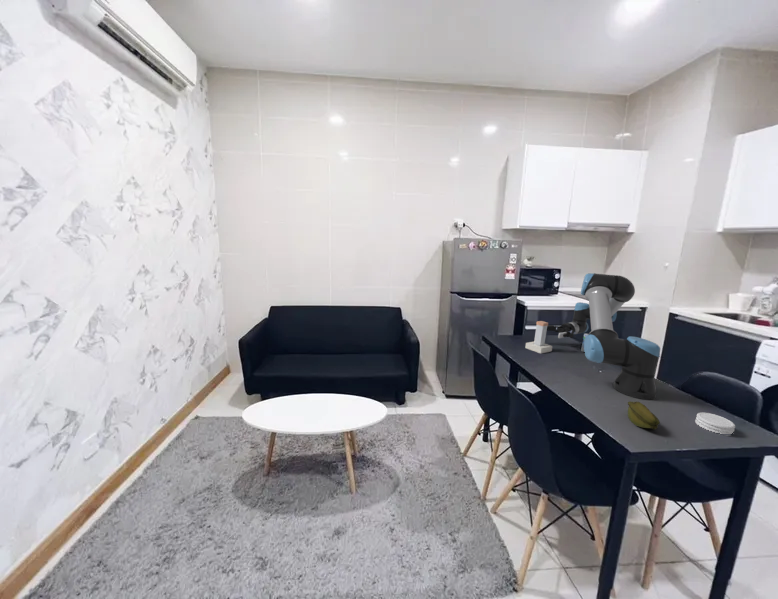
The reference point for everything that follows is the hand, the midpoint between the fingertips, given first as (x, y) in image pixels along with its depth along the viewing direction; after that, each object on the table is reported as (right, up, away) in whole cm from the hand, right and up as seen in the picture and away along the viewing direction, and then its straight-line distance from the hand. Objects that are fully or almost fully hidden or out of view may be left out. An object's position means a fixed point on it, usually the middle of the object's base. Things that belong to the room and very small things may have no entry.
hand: (547, 332), depth 196 cm
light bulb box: (+25, -13, -1) cm, 28 cm away
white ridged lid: (+24, -27, -75) cm, 84 cm away
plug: (-7, -10, -2) cm, 12 cm away
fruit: (-2, -25, -75) cm, 79 cm away
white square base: (-7, -11, -2) cm, 13 cm away
